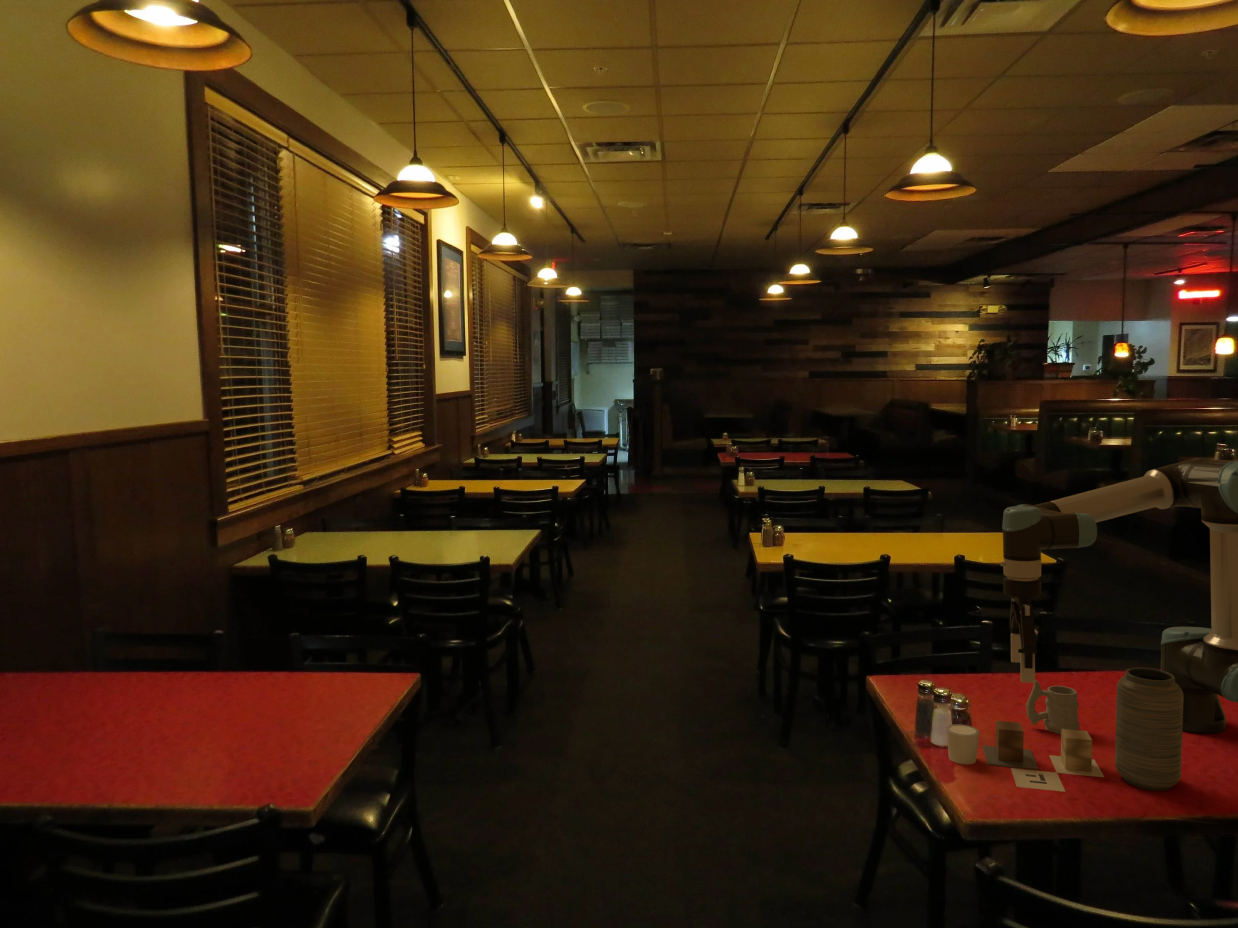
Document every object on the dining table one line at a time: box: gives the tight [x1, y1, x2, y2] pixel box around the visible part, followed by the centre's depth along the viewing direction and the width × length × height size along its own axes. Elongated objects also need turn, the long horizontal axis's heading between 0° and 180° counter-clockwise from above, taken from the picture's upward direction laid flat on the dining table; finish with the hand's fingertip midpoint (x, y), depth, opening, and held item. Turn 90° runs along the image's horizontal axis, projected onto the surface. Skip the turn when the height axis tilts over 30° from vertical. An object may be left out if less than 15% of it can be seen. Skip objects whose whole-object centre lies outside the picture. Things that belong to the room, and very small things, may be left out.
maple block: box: [1060, 729, 1093, 772], centre depth 184 cm, size 5×5×7 cm
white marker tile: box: [1010, 767, 1066, 793], centre depth 178 cm, size 9×9×1 cm
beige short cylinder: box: [945, 723, 980, 765], centre depth 189 cm, size 7×7×7 cm
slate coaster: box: [982, 744, 1039, 771], centre depth 189 cm, size 10×10×1 cm
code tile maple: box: [1048, 755, 1105, 778], centre depth 184 cm, size 9×9×1 cm
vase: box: [1114, 667, 1183, 792], centre depth 176 cm, size 12×12×23 cm
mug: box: [1025, 679, 1081, 735], centre depth 204 cm, size 8×12×12 cm, turn 80°
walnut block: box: [995, 720, 1025, 762], centre depth 189 cm, size 5×5×7 cm
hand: (1022, 671), depth 189 cm, fingers open, 13 cm apart
